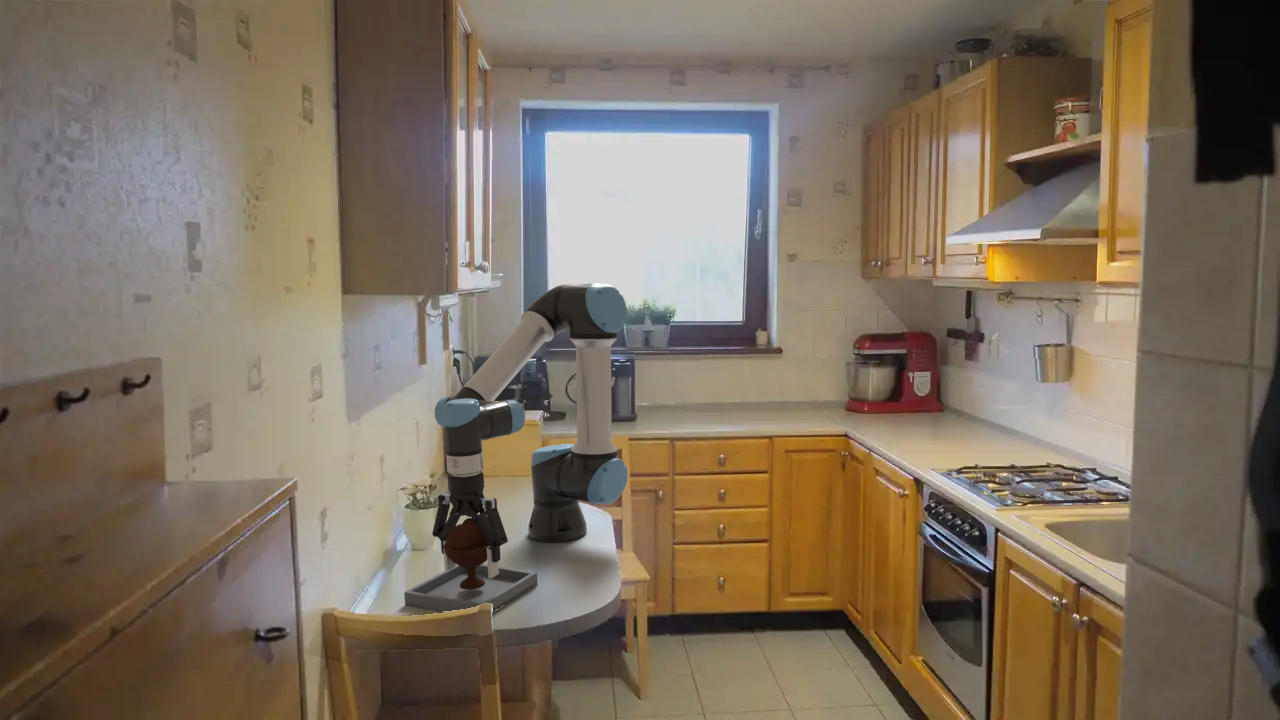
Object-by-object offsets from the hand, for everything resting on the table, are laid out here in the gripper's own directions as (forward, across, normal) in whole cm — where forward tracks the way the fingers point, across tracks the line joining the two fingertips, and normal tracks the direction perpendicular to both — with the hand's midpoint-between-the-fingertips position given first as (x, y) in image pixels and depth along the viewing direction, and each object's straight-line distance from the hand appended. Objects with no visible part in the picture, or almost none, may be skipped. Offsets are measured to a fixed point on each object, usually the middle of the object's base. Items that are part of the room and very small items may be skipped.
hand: (471, 572), depth 188 cm
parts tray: (+5, 0, 0) cm, 5 cm away
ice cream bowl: (+3, 0, 0) cm, 3 cm away
